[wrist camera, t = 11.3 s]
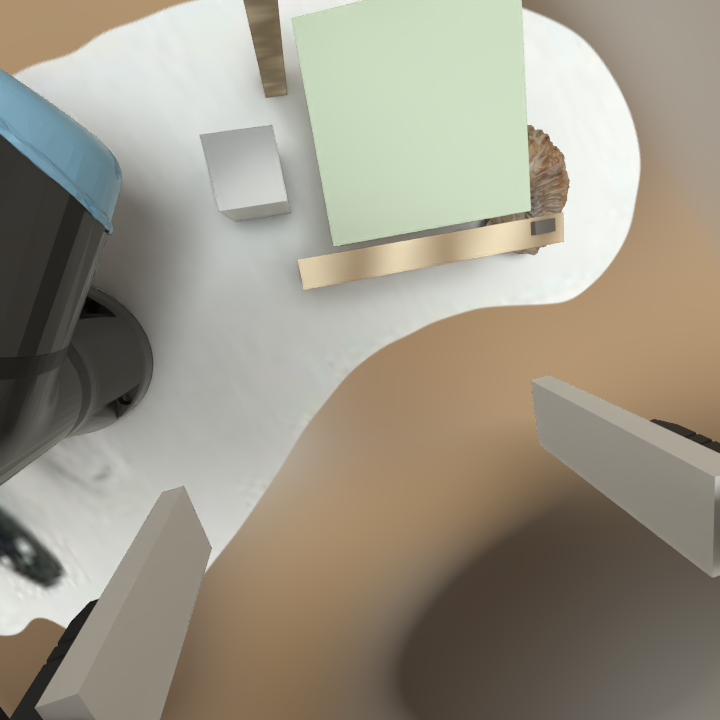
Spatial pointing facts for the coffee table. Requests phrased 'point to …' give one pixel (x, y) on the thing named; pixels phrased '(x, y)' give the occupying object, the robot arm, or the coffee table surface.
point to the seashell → (541, 182)
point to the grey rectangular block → (246, 173)
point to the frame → (404, 253)
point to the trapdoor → (416, 113)
